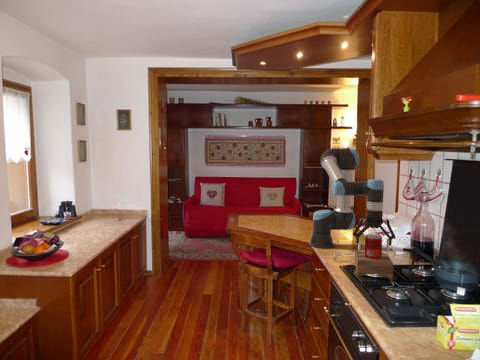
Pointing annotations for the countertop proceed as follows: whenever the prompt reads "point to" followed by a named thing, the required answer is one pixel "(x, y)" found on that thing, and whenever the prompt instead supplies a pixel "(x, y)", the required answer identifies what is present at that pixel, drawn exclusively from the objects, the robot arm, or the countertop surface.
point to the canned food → (373, 246)
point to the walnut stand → (373, 265)
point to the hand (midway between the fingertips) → (373, 250)
